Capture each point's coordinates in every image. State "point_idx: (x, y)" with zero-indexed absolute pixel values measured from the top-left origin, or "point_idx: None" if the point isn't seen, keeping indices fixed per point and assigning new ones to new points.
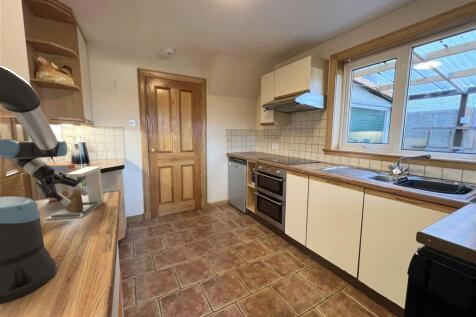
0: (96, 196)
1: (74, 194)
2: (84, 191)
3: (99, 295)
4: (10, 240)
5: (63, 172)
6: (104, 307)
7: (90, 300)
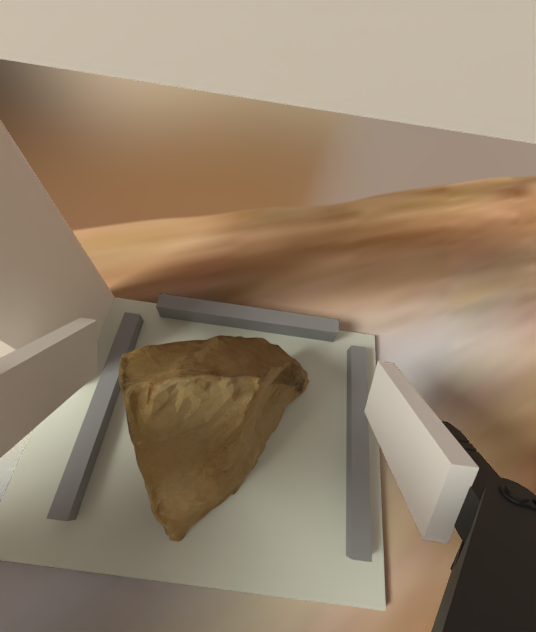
0: (81, 301)
1: (248, 373)
2: (75, 343)
3: None
4: None
5: None
6: None
7: None
